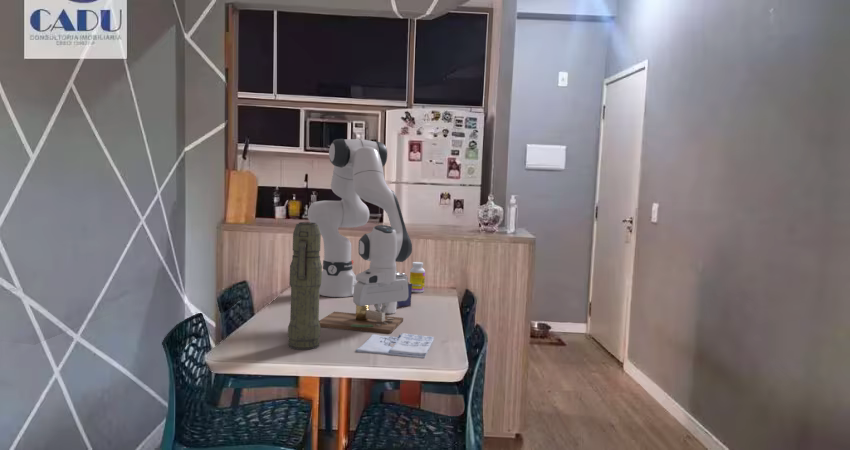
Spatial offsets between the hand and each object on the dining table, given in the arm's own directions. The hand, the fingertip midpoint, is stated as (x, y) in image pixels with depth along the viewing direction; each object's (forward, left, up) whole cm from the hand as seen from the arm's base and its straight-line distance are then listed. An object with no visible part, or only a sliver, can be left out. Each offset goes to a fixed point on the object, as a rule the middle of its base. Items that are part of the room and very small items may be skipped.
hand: (380, 316), depth 187 cm
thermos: (+30, -14, -3) cm, 34 cm away
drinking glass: (-19, -2, -3) cm, 19 cm away
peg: (+1, -3, -2) cm, 4 cm away
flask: (-30, 0, -3) cm, 30 cm away
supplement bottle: (-63, -1, -3) cm, 63 cm away
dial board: (+1, -7, -3) cm, 7 cm away
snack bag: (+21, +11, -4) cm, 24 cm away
